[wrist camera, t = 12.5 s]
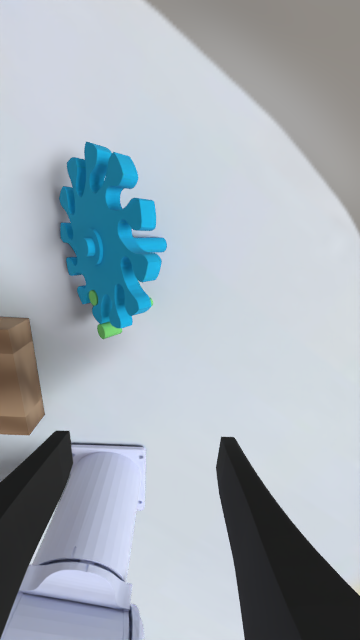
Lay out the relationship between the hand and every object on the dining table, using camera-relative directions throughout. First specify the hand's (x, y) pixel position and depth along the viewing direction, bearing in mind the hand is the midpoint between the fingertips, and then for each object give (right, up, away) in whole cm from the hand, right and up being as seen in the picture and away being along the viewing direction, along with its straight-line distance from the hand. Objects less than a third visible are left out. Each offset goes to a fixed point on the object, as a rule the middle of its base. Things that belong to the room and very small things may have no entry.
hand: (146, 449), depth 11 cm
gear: (-3, +11, +7) cm, 14 cm away
